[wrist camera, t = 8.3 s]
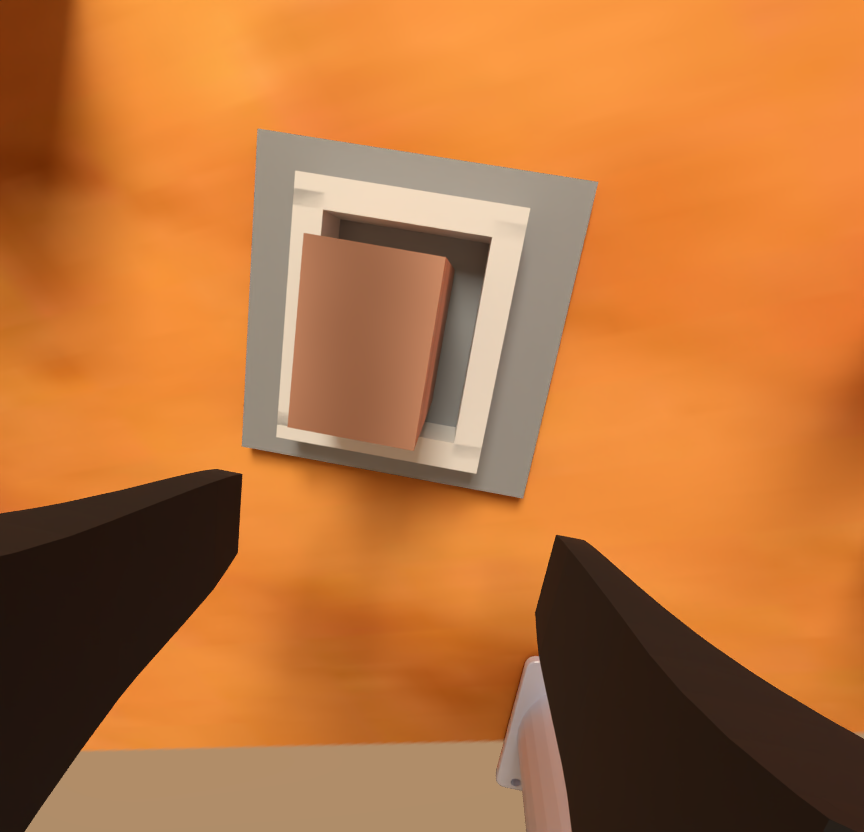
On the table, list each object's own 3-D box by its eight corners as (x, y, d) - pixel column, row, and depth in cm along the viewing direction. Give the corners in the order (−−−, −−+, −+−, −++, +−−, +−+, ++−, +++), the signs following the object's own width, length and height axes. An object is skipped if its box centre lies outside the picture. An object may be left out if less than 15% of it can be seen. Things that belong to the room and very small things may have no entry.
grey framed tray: (592, 187, 16) (616, 166, 14) (521, 490, 20) (528, 521, 17) (267, 136, 17) (228, 105, 14) (250, 440, 20) (216, 463, 17)
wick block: (454, 269, 17) (445, 257, 11) (432, 400, 18) (413, 450, 12) (361, 253, 17) (303, 232, 11) (346, 384, 18) (287, 427, 12)
